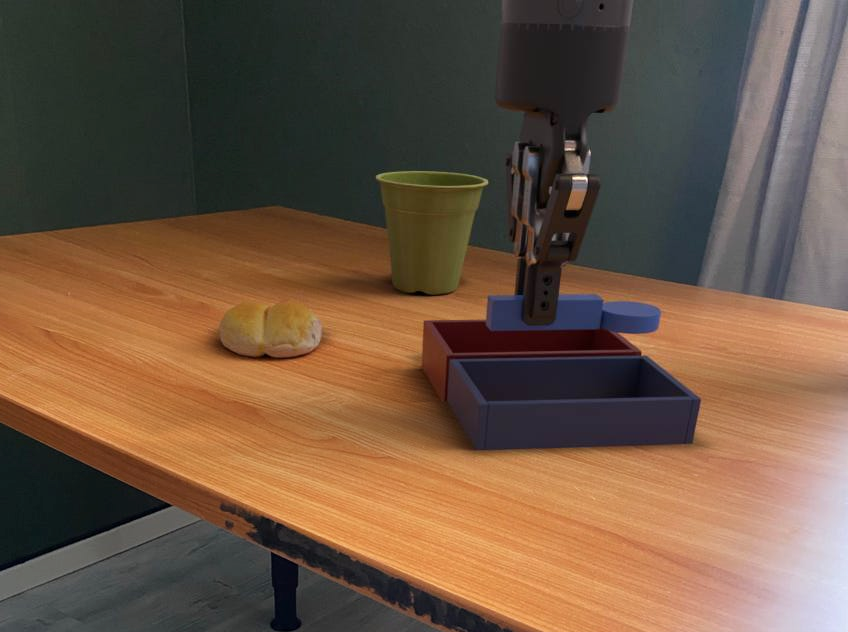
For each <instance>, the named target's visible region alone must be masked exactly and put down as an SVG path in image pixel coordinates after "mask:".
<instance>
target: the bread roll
mask: <svg viewBox="0 0 848 632" xmlns="http://www.w3.org/2000/svg"><path fill="white" fill-rule="evenodd" d="M322 325H323V323H322V321H321V319H319V318H318V317H317V316H316V314H315V313H314V312H313V311H311V309H309V308H308V307H307V306H306V305H304V304H302V303H300V302H298V301H294V300H287V299H285V300H283V301H280V302H278V303H275V304H274V305H272V306H271V305H269V304H267V303H266V302H262V301H257V300H249V301H243V302H240V303H238V304H236V305H234V306H232V307H231V308H230V309H229V310H227V311H226V312H225V313H224V315H223V316H222V317H221V320H220V322H219V326H218V327H219V328H218V329H219V330H218V331H219V334H220V338H219V339H220V341H221V344H222V345H223V346H224V347H225V348H227V349H228V350H230V351H231V352H233V353H235V354H238V355H240V356H244V357H253V358H259V357H263V356H264V355H265V354H266V355H268V356H269V357H272V358H274V359H275V358H276V359H281V358H282V359H283V358H284V359H285V358H294V357H299V356H302V355H306V354H308V353H311V352H312V351H313V350H315V349H316V348H317V347H318V346H319V344H320V342H321V339H322V332H323V327H322Z"/></svg>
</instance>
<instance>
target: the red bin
mask: <svg viewBox="0 0 848 632" xmlns="http://www.w3.org/2000/svg"><path fill="white" fill-rule="evenodd" d="M422 325H423V326H422V327H423V328H422V329H423V330H422V349H421V351H422V352H421V369H422V371H423V372H424V373H423V374H425V376H426V379H427V380H428V382H429V383H430V385H431V387H432V389H433V390H434V392H435V394H436V396H437V398H438V400H439V401H440V403H448V402H447V394H448V378H449V361H450V359H457V360H458V359H494V358H545V357H595V356H642V353H643V351H642V350H641V349H639V348H638V347H636V345H634V344H633V343H632V342H630V341H629V340H628V339H627V338H625V337H624V336H623V335H622V334H621V333H618V332H612V331H608V330H605V329H602V328H600V329H588V330H526V331H491V330H490V329H489V328H488V327H487V326H486V319H431V320H430V319H429V320H428V319H427V320H423V324H422Z"/></svg>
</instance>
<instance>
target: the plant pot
mask: <svg viewBox="0 0 848 632" xmlns="http://www.w3.org/2000/svg"><path fill="white" fill-rule="evenodd" d="M375 180H376V181H377V182H378V183H379V184H380V189H381V190H380V192H381V199H382V205H383V206H384V213H385V221H386V230H387V242H388V249H389V259H390V260H389V261H390V269H391V270H390V271H391V279H392V281H391V282H392V286H393V287H394V288H395V289H396V290H398V291H402V292H403V293H406V294H407V293H408V294H414V293H416V292H423V293H424V294H426V295H430V296H438V295H441V294H442V295H443V294H445V295H447V294H451V293H453V292H455V291H456V290H457V288H458V287H459V285H460V281H461V276H462V272H463V268H464V263H465V258H466V254H467V249H468V245H469V241H470V237H471V232H472V227H473V223H474V218H475V214H476V211H477V210H478V209H479V206H480V201H481V197H482V195H483V189H484V188H486V187H487V186H488V185H489V181H488V179H486V178H484V177H481V176H477V175H473V174H465V173H457V172H447V171H432V170H431V171H429V170H427V171H426V170H424V171H420V170H417V171H416V170H409V171H408V170H405V171H404V170H403V171H390V172H382V173H379V174H377V175H375Z"/></svg>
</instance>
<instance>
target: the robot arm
mask: <svg viewBox="0 0 848 632" xmlns="http://www.w3.org/2000/svg"><path fill="white" fill-rule="evenodd" d="M501 1H502V2H501V14H500V16H501V17H500V25H499V39H498V51H497V63H496V64H497V65H496V77H495V91H494V101H495V103H496V105H497V106H498V107H499V108H502V109H503V110H507V111H508V110H509V111H514V112H515V111H516V112H523V113H524V115H523V119H522V124H521V127H520V134H519V141H515V142H514V144H513V148H512V151H508V152H507V154H506V157H505V159H504V166H505V177H506V179H505V180H506V200H507V201H506V202H507V223H508V226H507V227H508V229H507V237H508V239H509V242H510V243H514V244H513V252H514V256H515V257H516V258H517V264H516V274H515V285H514V294H513V295H523V305H522V315H521V318H522V321H523V322H524V323H525V324H526V325H529V326H548V325H551V324H553V323H554V322H555V320H556V313H557V305H558V296H559V294H560V287H561V279H562V270H563V267H566V266H567V264H568V262H575V261H577V258H578V256H579V252H580V249H581V246H582V243H583V241H584V237H585V234H586V232H587V228H588V225H589V223H590V219H591V217H592V214H593V210H594V207H595V204H596V202H597V199H598V196H599V193H600V189H601V185H602V183H601V176H600V174H598V173H590V165H591V149H590V147H589V123H588V122H589V117H590V116H591V115H592V114H604V113H605V114H607V113H610V112H613V111H615V109H617V107H618V106H619V105H620V101H621V95H622V87H623V79H624V73H625V64H626V58H627V50H628V43H629V36H630V27H631V22H632V21H631V20H632V14H633V6H634V0H501Z"/></svg>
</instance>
